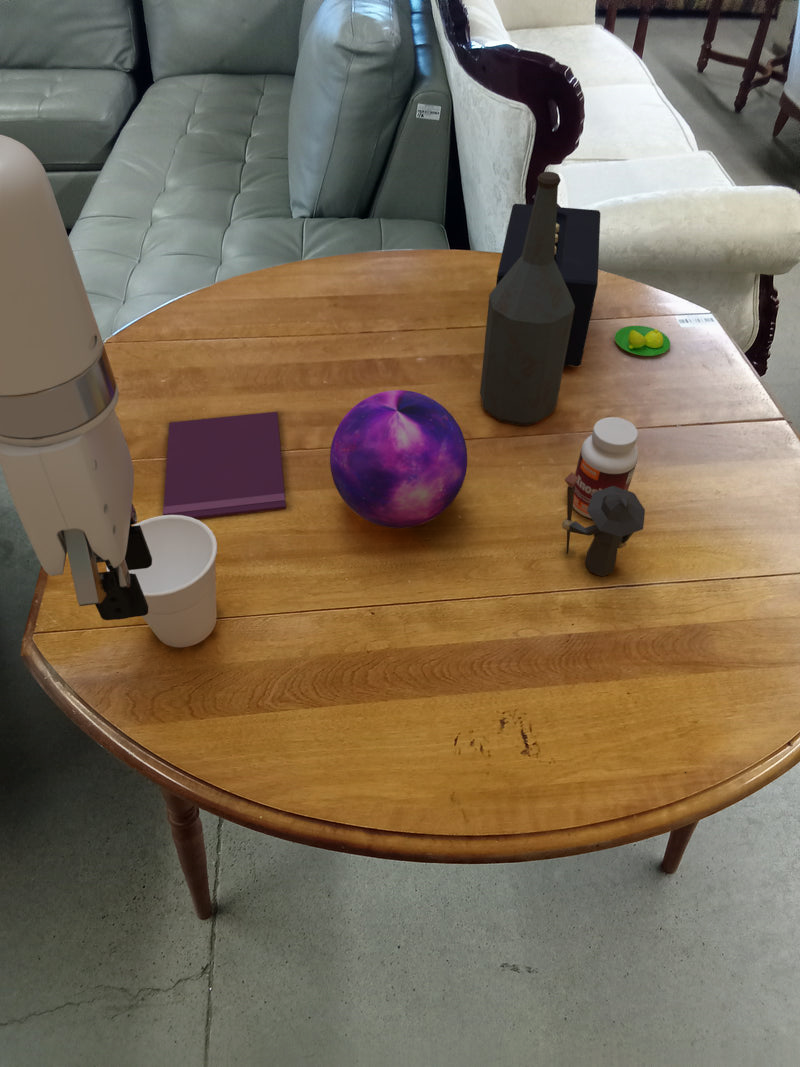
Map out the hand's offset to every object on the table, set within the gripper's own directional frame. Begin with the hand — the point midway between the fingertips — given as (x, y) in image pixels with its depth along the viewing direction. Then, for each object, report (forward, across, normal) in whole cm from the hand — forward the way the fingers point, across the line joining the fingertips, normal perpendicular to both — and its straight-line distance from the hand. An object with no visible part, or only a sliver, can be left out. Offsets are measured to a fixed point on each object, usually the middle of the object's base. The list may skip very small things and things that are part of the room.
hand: (128, 588), depth 55 cm
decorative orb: (+19, -24, +24) cm, 39 cm away
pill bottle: (+19, -21, +47) cm, 55 cm away
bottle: (+19, -41, +43) cm, 63 cm away
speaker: (+19, -58, +51) cm, 80 cm away
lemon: (+19, -52, +65) cm, 85 cm away
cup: (+19, -11, 0) cm, 22 cm away
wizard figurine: (+19, -12, +43) cm, 49 cm away
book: (+19, -35, +4) cm, 40 cm away
